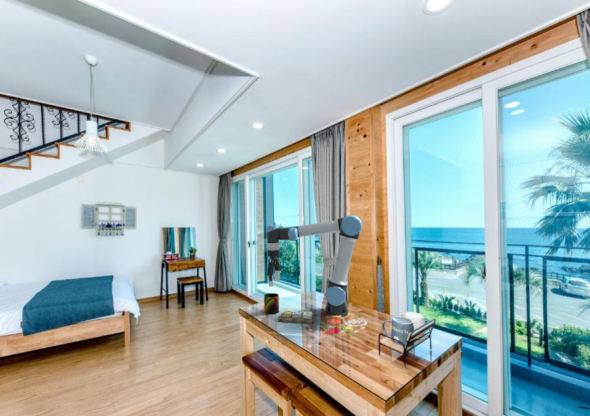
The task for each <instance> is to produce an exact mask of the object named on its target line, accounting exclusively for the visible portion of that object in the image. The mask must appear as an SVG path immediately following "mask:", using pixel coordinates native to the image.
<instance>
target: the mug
mask: <svg viewBox="0 0 590 416" xmlns="http://www.w3.org/2000/svg"><path fill="white" fill-rule="evenodd" d="M279 297H280V295H279V293H276V292H275V293H273V292H269V293H266V294H264V295H263V304H264V305H263V307H264V308H263V311H264V312H263V313H264V314H265V315H269V316H270V315H276V314H277V315H278V313H280V298H279Z"/></svg>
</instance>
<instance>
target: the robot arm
mask: <svg viewBox="0 0 590 416" xmlns="http://www.w3.org/2000/svg"><path fill="white" fill-rule="evenodd" d="M362 228H363V222H362V220H361V219H360V218H359V217H358V216H357V215H354V214H353V215H352V214H348V215H346V216H344V217H340V218H337V219H336V220H332V221H324V222H322V221H321V222H316V223H315V222H314V223H310V224H309V223H308V224H301V225H296V226H295V225H294V226H289V227H279V225H278V224H269V225H267V226H266V247H267V252H266V253H267V257H270V258H268V264H267V270H266V271H267V273H266V276H268V287H274V280H275V282H280V271H281V265H280V259H279V257H280V241H288V240H289V241H293V240H297V239H298V238H303V237H309V236H311V237H312V236H318V235H326V234H333V233H338V236H339V237H340V240H339V243H338V244H339V245H338V250H337V254H336V258H335V263H334V267H333V271H332V276H329V277H327V278H326V289H325V290H326V291H325V293H324V295H325V299H326V304H325V307H324V313H326V314H327V315H329V316H341V317H342V318H343V316H344V317H346V316H348V315H349V309H348V305H347V303H346V297H347V295H346V293H347V291H348V286H349V283H348V281H347V278H348V274H349V269H350V265H351V261H352V258H353V257H352V256H353V254H354V253H353V252H354V247H355V244H356V242H357V241H359V239H360V233H361V231H362ZM273 274H274V275H273Z"/></svg>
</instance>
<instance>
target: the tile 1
mask: <svg viewBox="0 0 590 416" xmlns="http://www.w3.org/2000/svg"><path fill="white" fill-rule="evenodd" d="M292 312H293V311H292V310H286V309H285V310H284V309H283V311H282V313H281V315H282V317H289V318H290V317H291V315H292Z"/></svg>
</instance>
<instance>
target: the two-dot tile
mask: <svg viewBox="0 0 590 416" xmlns="http://www.w3.org/2000/svg"><path fill="white" fill-rule="evenodd" d="M292 312H293V313H292V318H301V317H302V312H303V311H300V310H293V311H292Z"/></svg>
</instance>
